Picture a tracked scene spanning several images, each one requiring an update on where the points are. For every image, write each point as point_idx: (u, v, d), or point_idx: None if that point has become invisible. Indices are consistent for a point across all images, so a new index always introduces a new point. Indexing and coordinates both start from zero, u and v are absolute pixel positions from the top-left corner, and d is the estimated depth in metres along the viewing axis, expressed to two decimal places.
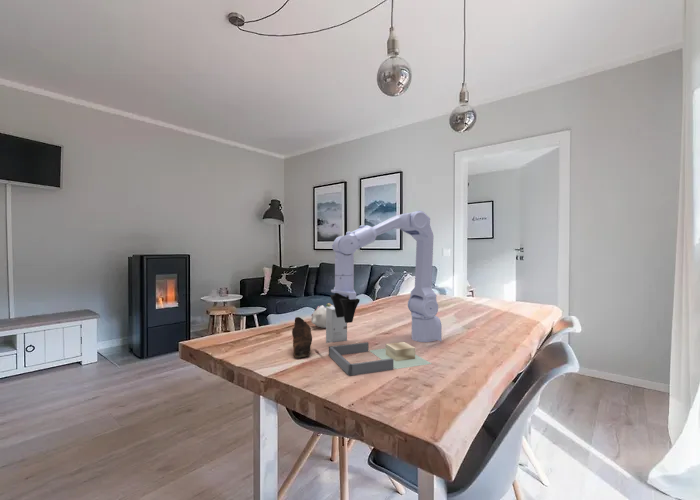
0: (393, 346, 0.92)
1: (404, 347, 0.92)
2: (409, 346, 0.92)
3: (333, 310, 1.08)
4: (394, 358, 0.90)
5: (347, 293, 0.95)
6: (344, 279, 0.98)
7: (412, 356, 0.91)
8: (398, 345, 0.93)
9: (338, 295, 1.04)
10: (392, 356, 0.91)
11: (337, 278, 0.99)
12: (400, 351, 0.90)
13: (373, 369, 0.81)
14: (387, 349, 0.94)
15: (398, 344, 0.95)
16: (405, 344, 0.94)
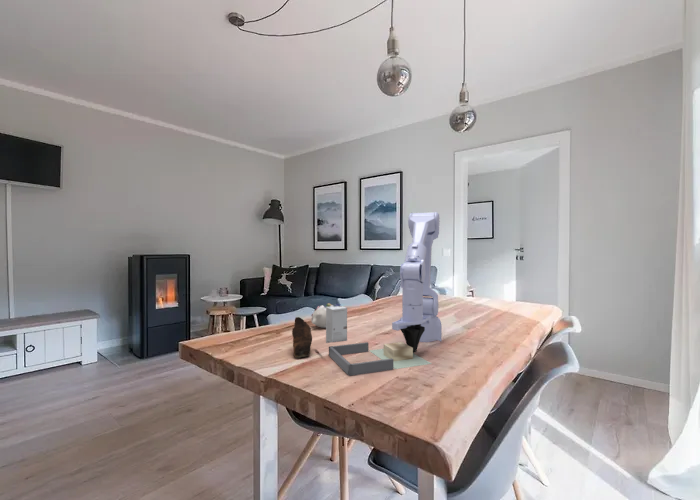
0: (391, 346, 0.92)
1: (402, 347, 0.91)
2: (407, 346, 0.92)
3: (333, 310, 1.08)
4: (392, 358, 0.90)
5: None
6: (403, 308, 0.93)
7: (410, 356, 0.91)
8: (396, 345, 0.93)
9: None
10: (390, 356, 0.91)
11: None
12: (397, 351, 0.90)
13: (373, 369, 0.81)
14: (385, 349, 0.93)
15: (396, 344, 0.95)
16: (403, 344, 0.94)
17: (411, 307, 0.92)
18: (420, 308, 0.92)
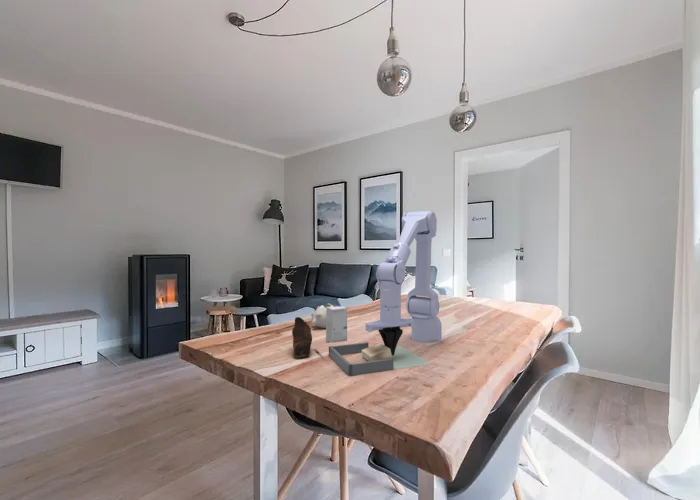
0: (368, 351, 0.90)
1: (379, 350, 0.89)
2: (384, 348, 0.90)
3: (333, 310, 1.08)
4: None
5: None
6: (380, 309, 0.92)
7: (389, 358, 0.89)
8: (373, 349, 0.91)
9: None
10: None
11: None
12: (375, 356, 0.87)
13: (373, 369, 0.81)
14: (364, 355, 0.91)
15: (374, 347, 0.92)
16: (381, 346, 0.92)
17: (386, 308, 0.89)
18: (396, 310, 0.89)
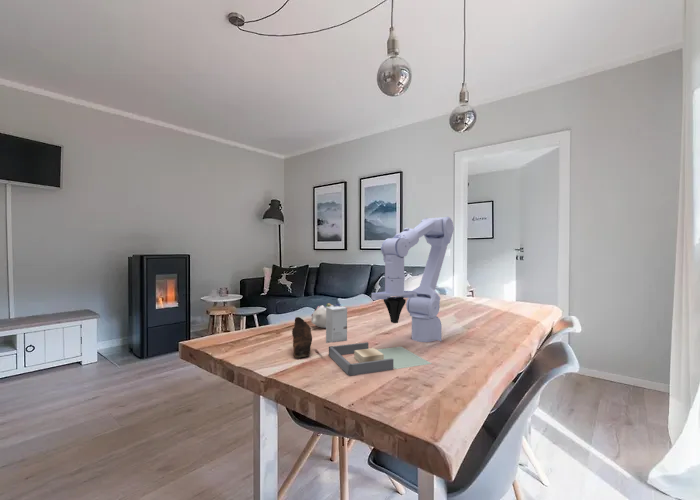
0: (361, 353, 0.89)
1: (372, 354, 0.89)
2: (378, 353, 0.90)
3: (333, 310, 1.08)
4: None
5: None
6: (385, 281, 1.00)
7: None
8: (367, 351, 0.90)
9: None
10: None
11: None
12: (367, 358, 0.87)
13: (373, 369, 0.81)
14: (356, 356, 0.90)
15: (367, 350, 0.92)
16: (374, 350, 0.91)
17: (390, 280, 0.98)
18: (399, 281, 0.98)
